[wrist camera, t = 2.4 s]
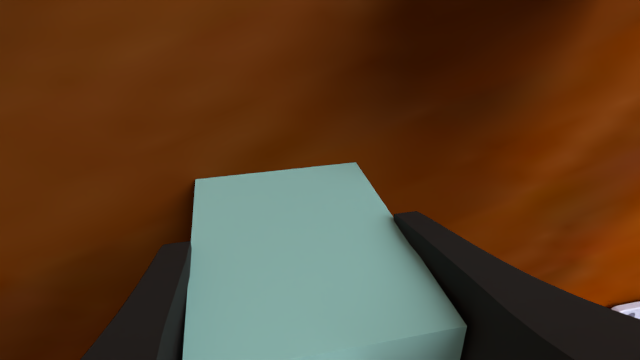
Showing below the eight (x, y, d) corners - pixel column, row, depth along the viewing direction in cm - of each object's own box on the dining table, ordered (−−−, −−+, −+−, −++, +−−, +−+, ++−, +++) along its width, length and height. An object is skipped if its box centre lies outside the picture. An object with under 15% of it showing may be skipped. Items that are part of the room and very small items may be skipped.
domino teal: (355, 162, 14) (466, 325, 8) (354, 204, 15) (454, 384, 9) (195, 179, 13) (180, 380, 7) (202, 223, 14) (195, 440, 8)
